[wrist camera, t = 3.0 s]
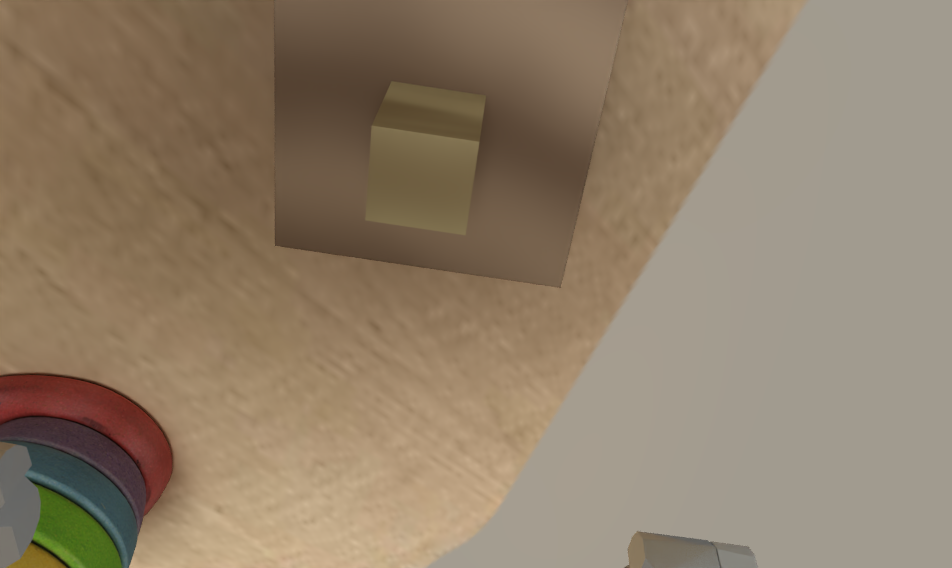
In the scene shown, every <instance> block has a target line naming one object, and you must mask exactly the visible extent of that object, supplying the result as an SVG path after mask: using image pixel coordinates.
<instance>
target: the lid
mask: <svg viewBox="0 0 952 568" xmlns="http://www.w3.org/2000/svg"><path fill="white" fill-rule="evenodd" d="M627 3H628V0H274V33H275V246H281V247H288V248H294V249H301V250H308V251H315V252H322V253H328V254H335V255H342V256H349V257H355V258H362V259H369V260H376V261H383V262H389V263H396V264H403V265H410V266H416V267H423V268H430V269H437V270H443V271H450V272H457V273H464V274H471V275H477V276H484V277H491V278H498V279H504V280H511V281H518V282H525V283H532V284H538V285H545V286H552V287H559V288H561V284H562V280H563V275H564V271H565V267H566V263H567V258H568V254H569V250H570V246H571V241H572V237H573V233H574V229H575V224H576V220H577V216H578V212H579V207H580V203H581V199H582V194H583V190H584V186H585V182H586V177H587V173H588V169H589V165H590V160H591V156H592V152H593V148H594V143H595V139H596V135H597V131H598V126H599V122H600V118H601V113H602V109H603V105H604V101H605V96H606V92H607V88H608V84H609V79H610V75H611V71H612V67H613V62H614V58H615V54H616V50H617V45H618V41H619V37H620V32H621V28H622V24H623V20H624V15H625V11H626V7H627Z"/></svg>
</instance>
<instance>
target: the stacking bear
mask: <svg viewBox="0 0 952 568" xmlns="http://www.w3.org/2000/svg"><path fill="white" fill-rule="evenodd" d="M0 442H5V443H11V444H17V445H21V446H25V447H27V450H28V453H29V457H30V460H31V463H32V466H31V467H30V468H29V470H28V471H27V473H26V474H25V475H24V476H25V477H26V478H27V479H28V480H29V481H30V482H32V483H33V484H34V485H35V486H36V487H37V488H38V492H39V496H40V501H41V504H40V518H39V521H38V524H37V527H36V530H35V533H34V536H33V539H32V541H31V543H30V544H29V546H28V547H27V549H26V551H25V552H24V554H23V555H22V557H21V559H19V560H17V561H16V562H14V563H13V564H11V565H9V566H8V567H6V568H129V565H130V563H131V560H132V556H133V553H134V550H135V547H136V543H137V536H138V534H139V531H140V528H141V524H142V520H143V517H144V516H145V515H146V514H147V513H148V512H149V510H150V509H151V508H152V507H153V506H154V504H155V503H156V502H157V500H158V499H159V498H160V496H161V494H162V493H163V491H164V489H165V487H166V485H167V483H168V481H169V479H170V476H171V473H172V456H171V452H170V448H169V445H168V443H167V441H166V439H165V437H164V435H163V433H162V432H161V430H160V429H159V427H158V426H157V425H156V424H155V423H154V421H153V420H152V419H151V418H150V417H149V416H148V415H147V414H146V413H145V412H144V411H142V410H141V409H140V408H139V407H137V406H136V405H135V404H133V403H132V402H130V401H129V400H127V399H126V398H124V397H122V396H120V395H118V394H117V393H115V392H113V391H111V390H108V389H106V388H104V387H101V386H99V385H95V384H92V383H88V382H84V381H80V380H75V379H69V378H62V377H54V376H41V375H19V376H6V377H0Z"/></svg>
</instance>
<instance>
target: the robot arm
mask: <svg viewBox="0 0 952 568" xmlns="http://www.w3.org/2000/svg"><path fill="white" fill-rule="evenodd" d="M31 466H32V463H31V460H30V457H29V453H28V450H27V447H25V446H21V445H17V444H11V443H5V442H0V568H6V567H8V566H9V565H11V564H13V563H14V562H16V561H17V560H19V559H21V557H22V555H23V554H24V552H25V551H26V549H27V547H28V546H29V544H30V543H31V541H32V539H33V536H34V533H35V530H36V527H37V524H38V521H39V518H40V504H41V501H40V496H39V492H38V488H37V487H36V486H35V485H34V484H33V483H32V482H30V481H29V480H28V479H27V478H26V477H25V476H24V475H25V474H26V473H27V471H28V470H29V468H30V467H31ZM628 557H629V565H628V566H626V567H625V568H758V566H757V563H756V559H755V556H754V553H753V552H752V551H751V549H750V548H749V547H747V546H740V545H733V544H726V543H718V542H709V541H707V540H701V539H693V538H685V537H678V536H670V535H662V534H654V533H647V532H638V531H637V532H636V533H635V534H634V536H633V537H632V539H631V542H630V544H629V547H628Z"/></svg>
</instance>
